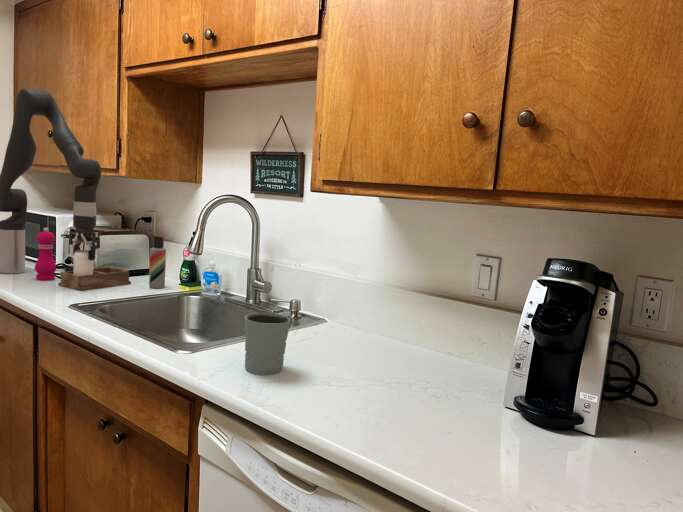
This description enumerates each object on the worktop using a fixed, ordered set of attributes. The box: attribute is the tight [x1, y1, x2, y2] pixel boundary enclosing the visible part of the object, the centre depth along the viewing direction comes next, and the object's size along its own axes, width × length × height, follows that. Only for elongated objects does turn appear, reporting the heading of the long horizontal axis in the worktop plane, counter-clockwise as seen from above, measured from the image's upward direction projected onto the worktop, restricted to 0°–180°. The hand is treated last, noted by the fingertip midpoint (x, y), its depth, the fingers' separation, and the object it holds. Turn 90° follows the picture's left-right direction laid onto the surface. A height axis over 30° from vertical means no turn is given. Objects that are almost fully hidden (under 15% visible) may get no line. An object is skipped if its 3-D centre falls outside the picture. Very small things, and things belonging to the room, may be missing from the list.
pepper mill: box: [34, 227, 57, 282], centre depth 195 cm, size 7×7×20 cm
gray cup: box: [244, 312, 291, 376], centre depth 117 cm, size 10×10×12 cm
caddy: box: [57, 266, 132, 292], centre depth 193 cm, size 13×21×5 cm, turn 151°
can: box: [72, 249, 94, 276], centre depth 188 cm, size 6×6×12 cm
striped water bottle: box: [148, 235, 167, 290], centre depth 196 cm, size 6×6×20 cm
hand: (84, 258), depth 188 cm, fingers open, 8 cm apart
